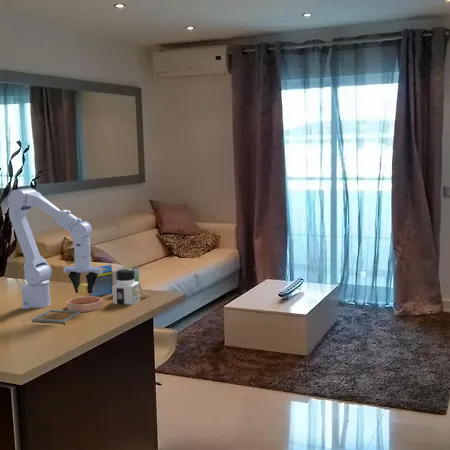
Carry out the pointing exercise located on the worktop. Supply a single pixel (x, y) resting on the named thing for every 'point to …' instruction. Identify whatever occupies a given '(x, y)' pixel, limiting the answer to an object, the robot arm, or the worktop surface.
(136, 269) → the food container
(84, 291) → the ball
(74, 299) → the bowl
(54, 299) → the worktop surface
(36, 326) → the worktop surface
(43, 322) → the tray
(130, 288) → the container
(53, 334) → the worktop surface
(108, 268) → the label tape box
